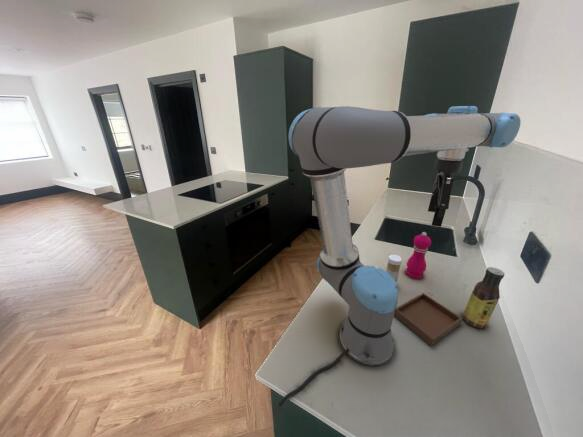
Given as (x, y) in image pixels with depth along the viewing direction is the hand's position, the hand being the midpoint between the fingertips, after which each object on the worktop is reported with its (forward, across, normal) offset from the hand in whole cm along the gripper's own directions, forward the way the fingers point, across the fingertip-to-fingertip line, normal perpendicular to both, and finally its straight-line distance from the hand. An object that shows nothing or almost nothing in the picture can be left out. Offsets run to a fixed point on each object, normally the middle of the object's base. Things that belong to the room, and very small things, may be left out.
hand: (433, 218), depth 84 cm
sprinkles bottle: (+27, -10, +10) cm, 31 cm away
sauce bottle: (+27, -17, -16) cm, 36 cm away
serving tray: (+27, -22, -1) cm, 35 cm away
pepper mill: (+27, +2, +1) cm, 27 cm away
